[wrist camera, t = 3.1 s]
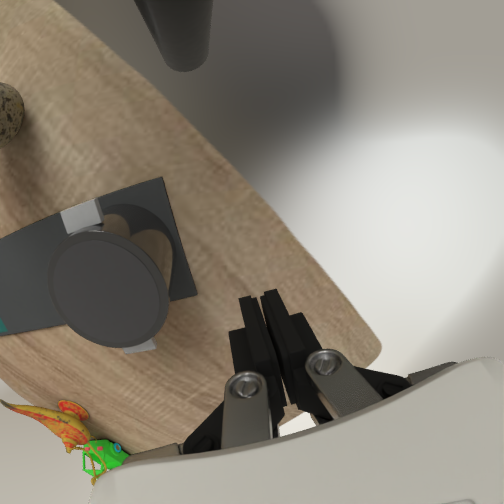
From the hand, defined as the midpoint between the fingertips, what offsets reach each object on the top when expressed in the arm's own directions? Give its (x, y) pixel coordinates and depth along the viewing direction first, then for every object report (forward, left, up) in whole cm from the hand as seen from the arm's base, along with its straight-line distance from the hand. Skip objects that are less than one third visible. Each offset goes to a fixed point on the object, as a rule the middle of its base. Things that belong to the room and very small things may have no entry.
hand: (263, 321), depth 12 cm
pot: (+7, -7, -13) cm, 16 cm away
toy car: (+45, +5, -13) cm, 47 cm away
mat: (+16, -15, -13) cm, 26 cm away
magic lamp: (+35, -6, -13) cm, 38 cm away
